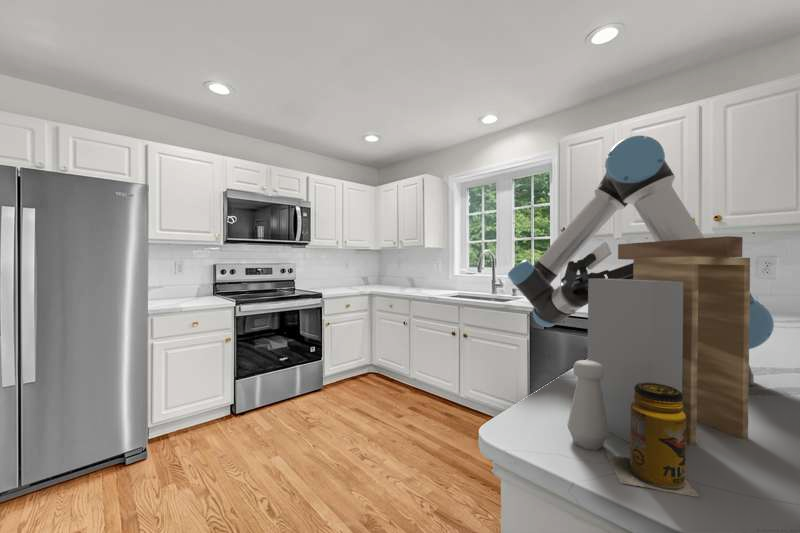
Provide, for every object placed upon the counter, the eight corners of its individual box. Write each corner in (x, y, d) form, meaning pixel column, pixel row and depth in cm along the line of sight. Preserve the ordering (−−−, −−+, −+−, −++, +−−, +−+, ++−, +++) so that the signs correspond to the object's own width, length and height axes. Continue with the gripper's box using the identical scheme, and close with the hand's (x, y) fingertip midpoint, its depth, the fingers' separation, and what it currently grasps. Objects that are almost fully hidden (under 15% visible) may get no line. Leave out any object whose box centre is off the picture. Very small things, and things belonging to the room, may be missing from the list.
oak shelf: (682, 411, 70) (684, 259, 70) (748, 438, 59) (750, 257, 59) (631, 416, 67) (633, 257, 67) (690, 444, 57) (692, 256, 57)
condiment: (699, 498, 44) (700, 399, 44) (620, 484, 46) (621, 391, 46) (674, 466, 51) (674, 381, 51) (606, 456, 53) (607, 375, 53)
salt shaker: (614, 455, 53) (615, 368, 53) (573, 450, 54) (574, 365, 54) (600, 436, 59) (601, 358, 59) (563, 433, 60) (564, 356, 60)
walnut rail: (630, 259, 77) (630, 244, 77) (742, 257, 57) (742, 236, 57) (617, 259, 76) (618, 244, 76) (726, 256, 56) (726, 236, 56)
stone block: (613, 415, 68) (615, 278, 68) (681, 449, 55) (683, 281, 55) (586, 417, 66) (588, 278, 67) (649, 453, 54) (651, 281, 54)
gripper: (621, 306, 92) (693, 264, 74) (534, 307, 87) (590, 263, 69) (610, 280, 96) (676, 235, 78) (526, 280, 91) (576, 231, 73)
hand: (636, 248), depth 73 cm, fingers open, 13 cm apart
